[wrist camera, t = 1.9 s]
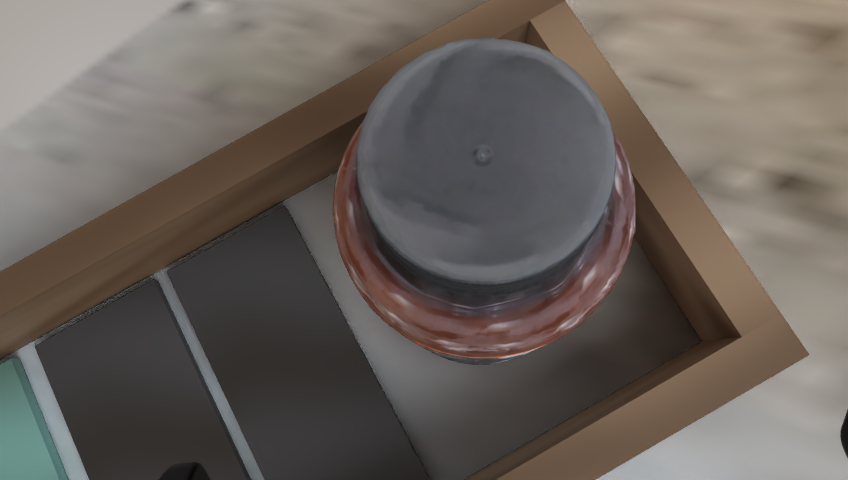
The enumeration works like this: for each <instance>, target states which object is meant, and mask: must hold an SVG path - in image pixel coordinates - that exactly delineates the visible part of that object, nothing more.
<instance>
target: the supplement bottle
mask: <svg viewBox="0 0 848 480" xmlns="http://www.w3.org/2000/svg"><path fill="white" fill-rule="evenodd" d="M333 216H334V226H335V235H336V239H337V243H338V247H339V250H340V254H341V256H342V259H343V261H344V264H345V266H346V268H347V271H348V273H349V275H350V277H351V279H352V280H353V282H354V284H355V286H356V287H357V289H358V290H359V292H360V294H361V295H362V297H363V298H364V299H365V301H366V302H367V303H368V305H369V306H370V307H371V308H372V309H373V310H374V311H375V312H376V313H377V314H378V315H379V316H380V317H381V319H383V320H384V321H385V322H386V323H387V324H389V325H390V326H391V327H392V328H394V329H395V330H397V331H398V332H400V333H401V334H402V335H403V336H405V337H406V338H408V339H410V340H412V341H414V342H415V343H416V344H419V345H420V346H422V347H424V348H425V349H427V350H429V351H431V352H432V353H434V354H437V355H439V356H441V357H444V358H446V359H448V360H452V361H457V362H460V363H466V364H473V365H479V364H481V365H487V364H494V363H500V362H504V361H508V360H511V359H514V358H516V357H519V356H521V355H524V354H526V353H529V352H531V351H533V350H536V349H538V348H540V347H542V346H544V345H546V344H548V343H550V342H552V341H554V340H556V339H558V338H560V337H562V336H563V335H565V334H567V333H568V332H570V331H572V330H573V329H575V328H576V327H577V326H578V325H579V324H580V323H582V322H583V321H584V320H585V319H586V318H587V317H588V316H589V315H590V314H591V313H592V312H593V311H594V310H595V309H596V308H597V307H598V306H599V304H600V303H601V302H602V301H603V300H604V298H605V297H606V296H607V295H608V294H609V292H610V291H611V289H612V287H613V285H614V284H615V283H616V281H617V279H618V277H619V276H620V274H621V272H622V269H623V266H624V264H625V262H626V260H627V257H628V254H629V252H630V249H631V244H632V242H633V237H634V234H635V232H636V197H635V187H634V182H633V176H632V173H631V169H630V164H629V162H628V159H627V157H626V154H625V151H624V149H623V147H622V144H621V142H620V141H619V139H618V138H617V136H616V134H615V133H614V132H613V130H612V126H611V124H610V121H609V119H608V116H607V113H606V111H605V108H604V107H603V105H602V104H601V102H600V101H599V99H598V98H597V96H596V94H595V92H594V91H593V90H592V89H591V88H590V86H589V85H588V84H587V82H586V80H585V79H584V78H583V77H582V76H581V75H580V74H578V72H577V71H576V70H574V69H573V68H572V67H570V66H569V65H568V64H567V63H566V62H564V61H562V60H561V59H559V58H558V57H556V56H554V55H553V54H551V53H550V52H549V51H547V50H543V49H541V48H539V47H536V46H532V45H530V44H527V43H522V42H517V41H512V40H507V39H497V38H495V37H485V38H478V39H464V40H459V41H454V42H449V43H447V44H445V45H443V46H441V47H437V48H434V49H432V50H429V51H427V52H425V53H423V54H421V55H419V56H418V57H417V58H415V59H414V60H412V61H411V62H409V63H408V64H406V65H404V66H403V67H402V68H400V69H399V70H398V71H397V72H396V73H395V75H394V76H393V77H392V78H391V79H390V80H389V81H388V82H387V83H386V84H385V85H384V86H383V87H382V88H381V89H380V91H379V92H378V94H377V96H376V97H375V99H374V100H373V101H372V103H371V105H370V107H369V108H368V111H367V114H366V116H365V118H364V120H363V122H362V124H361V125H360V126H359V128H358V129H357V131H356V132H355V134H354V135H353V137H352V139H351V141H350V143H349V145H348V147H347V149H346V151H345V153H344V155H343V158H342V161H341V163H340V167H339V170H338V175H337V180H336V185H335V191H334V203H333Z"/></svg>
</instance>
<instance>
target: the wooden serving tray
mask: <svg viewBox="0 0 848 480" xmlns="http://www.w3.org/2000/svg"><path fill="white" fill-rule="evenodd" d="M485 37H495V38H497V39H507V40H512V41H517V42H522V43H527V44H530V45H532V46H536V47H539V48H541V49H543V50H547V51H549V52H550V53H551V54H553V55H554V56H556V57H558V58H559V59H561V60H562V61H564V62H566V63H567V64H568V65H569V66H570V67H572V68H573V69H574V70H576V71H577V72H578V74H580V75H581V76H582V77H583V78H584V79H585V80H586V82H587V84H588V85H589V86H590V88H591V89H592V90H593V91H594V92H595V94H596V96H597V98H598V99H599V101H600V102H601V104H602V105H603V107H604V108H605V111H606V113H607V116H608V119H609V121H610V124H611V126H612V130H613V132H614V133H615V134H616V136H617V138H618V139H619V141H620V142H621V144H622V147H623V149H624V151H625V154H626V157H627V159H628V162H629V164H630V169H631V173H632V176H633V182H634V187H635V197H636V232H635V234H634V238H635V239H636V241H637V242H638V244H639V246H640V247H641V249H642V250H643V252H644V253H645V255H646V256H647V258H648V259H649V261H650V262H651V264H652V265H653V267H654V268H655V270H656V272H657V273H658V275H659V276H660V278H661V279H662V281H663V282H664V284H665V285H666V287H667V288H668V290H669V291H670V293H671V294H672V296H673V297H674V299H675V301H676V302H677V304H678V305H679V307H680V308H681V310H682V311H683V313H684V314H685V316H686V317H687V319H688V320H689V322H690V323H691V325H692V327H693V328H694V330H695V331H696V333H697V334H698V336H699V337H700V339H701V340H702V342H700V343H699V344H697V345H695V346H693V347H692V348H690V349H688V350H687V351H685V352H683V353H681V354H680V355H678V356H676V357H674V358H673V359H671V360H669V361H668V362H666V363H664V364H662V365H661V366H659V367H657V368H656V369H654V370H652V371H650V372H649V373H647V374H645V375H643V376H642V377H640V378H638V379H637V380H635V381H633V382H631V383H630V384H628V385H626V386H624V387H623V388H621V389H619V390H618V391H616V392H614V393H612V394H611V395H609V396H607V397H605V398H604V399H602V400H600V401H599V402H597V403H595V404H593V405H592V406H590V407H588V408H586V409H585V410H583V411H581V412H580V413H578V414H576V415H574V416H573V417H571V418H569V419H567V420H566V421H564V422H562V423H561V424H559V425H557V426H555V427H554V428H552V429H550V430H549V431H547V432H545V433H543V434H542V435H540V436H538V437H536V438H535V439H533V440H531V441H530V442H528V443H526V444H524V445H523V446H521V447H519V448H517V449H516V450H514V451H512V452H511V453H509V454H507V455H505V456H504V457H502V458H500V459H498V460H497V461H495V462H493V463H492V464H490V465H488V466H486V467H485V468H483V469H481V470H479V471H478V472H476V473H474V474H473V475H471V476H469V477H467V478H466V479H464V480H596V479H597V478H599V477H601V476H602V475H604V474H606V473H608V472H609V471H611V470H613V469H614V468H616V467H618V466H620V465H621V464H623V463H625V462H626V461H628V460H630V459H632V458H633V457H635V456H637V455H638V454H640V453H642V452H644V451H645V450H647V449H649V448H650V447H652V446H654V445H656V444H657V443H659V442H661V441H662V440H664V439H666V438H668V437H669V436H671V435H673V434H674V433H676V432H678V431H680V430H681V429H683V428H685V427H686V426H688V425H690V424H692V423H693V422H695V421H697V420H698V419H700V418H702V417H704V416H705V415H707V414H709V413H710V412H712V411H714V410H716V409H717V408H719V407H721V406H722V405H724V404H726V403H728V402H729V401H731V400H733V399H734V398H736V397H738V396H740V395H741V394H743V393H745V392H746V391H748V390H750V389H752V388H753V387H755V386H757V385H758V384H760V383H762V382H764V381H765V380H767V379H769V378H770V377H772V376H774V375H776V374H777V373H779V372H781V371H782V370H784V369H786V368H788V367H789V366H791V365H793V364H794V363H796V362H798V361H800V360H801V359H803V358H805V357H806V356H808V355H809V353H808V352H807V351H806V349H805V348H804V346H803V345H802V343H801V342H800V340H799V339H798V338H797V336H796V335H795V333H794V332H793V330H792V329H791V327H790V326H789V324H788V323H787V322H786V320H785V319H784V317H783V316H782V314H781V313H780V311H779V310H778V309H777V307H776V306H775V304H774V303H773V301H772V300H771V298H770V297H769V295H768V294H767V293H766V291H765V290H764V288H763V287H762V285H761V284H760V282H759V281H758V280H757V278H756V277H755V275H754V274H753V272H752V271H751V269H750V268H749V266H748V265H747V264H746V262H745V261H744V259H743V258H742V256H741V255H740V253H739V252H738V251H737V249H736V248H735V246H734V245H733V243H732V242H731V240H730V239H729V237H728V236H727V235H726V233H725V232H724V230H723V229H722V227H721V226H720V224H719V223H718V222H717V220H716V219H715V217H714V216H713V214H712V213H711V211H710V210H709V209H708V207H707V206H706V204H705V203H704V201H703V200H702V198H701V197H700V195H699V194H698V193H697V191H696V190H695V188H694V187H693V185H692V184H691V182H690V181H689V180H688V178H687V177H686V175H685V174H684V172H683V171H682V169H681V168H680V166H679V165H678V164H677V162H676V161H675V159H674V158H673V156H672V155H671V153H670V152H669V151H668V149H667V148H666V146H665V145H664V143H663V142H662V140H661V139H660V137H659V136H658V135H657V133H656V132H655V130H654V129H653V127H652V126H651V124H650V123H649V122H648V120H647V119H646V117H645V116H644V114H643V113H642V111H641V110H640V108H639V107H638V106H637V104H636V103H635V101H634V100H633V98H632V97H631V95H630V94H629V93H628V91H627V90H626V88H625V87H624V85H623V84H622V82H621V81H620V80H619V78H618V77H617V75H616V74H615V72H614V71H613V69H612V68H611V66H610V65H609V64H608V62H607V61H606V59H605V58H604V56H603V55H602V53H601V52H600V51H599V49H598V48H597V46H596V45H595V43H594V42H593V40H592V39H591V37H590V36H589V35H588V33H587V32H586V30H585V29H584V27H583V26H582V24H581V23H580V22H579V20H578V19H577V17H576V16H575V14H574V13H573V11H572V10H571V8H570V7H569V6H568V4H567V3H566V1H565V0H488V1H486V2H485V3H483V4H481V5H479V6H477V7H476V8H474V9H472V10H470V11H468V12H467V13H465V14H463V15H461V16H459V17H458V18H456V19H454V20H452V21H450V22H449V23H447V24H445V25H443V26H441V27H440V28H438V29H436V30H434V31H432V32H431V33H429V34H427V35H425V36H423V37H422V38H420V39H418V40H416V41H414V42H413V43H411V44H409V45H407V46H405V47H404V48H402V49H400V50H398V51H396V52H395V53H393V54H391V55H389V56H387V57H386V58H384V59H382V60H380V61H378V62H377V63H375V64H373V65H371V66H369V67H368V68H366V69H364V70H362V71H360V72H359V73H357V74H355V75H353V76H351V77H350V78H348V79H346V80H344V81H343V82H341V83H339V84H337V85H335V86H334V87H332V88H330V89H328V90H326V91H325V92H323V93H321V94H319V95H317V96H316V97H314V98H312V99H310V100H308V101H307V102H305V103H303V104H301V105H299V106H298V107H296V108H294V109H292V110H290V111H289V112H287V113H285V114H283V115H281V116H280V117H278V118H276V119H274V120H272V121H271V122H269V123H267V124H265V125H263V126H262V127H260V128H258V129H256V130H254V131H253V132H251V133H249V134H247V135H245V136H244V137H242V138H240V139H238V140H236V141H235V142H233V143H231V144H229V145H227V146H226V147H224V148H222V149H220V150H218V151H217V152H215V153H213V154H211V155H209V156H208V157H206V158H204V159H202V160H200V161H199V162H197V163H195V164H193V165H191V166H190V167H188V168H186V169H184V170H182V171H181V172H179V173H177V174H175V175H173V176H172V177H170V178H168V179H166V180H164V181H163V182H161V183H159V184H157V185H155V186H154V187H152V188H150V189H148V190H146V191H145V192H143V193H141V194H139V195H137V196H136V197H134V198H132V199H130V200H128V201H127V202H125V203H123V204H121V205H119V206H118V207H116V208H114V209H112V210H110V211H109V212H107V213H105V214H103V215H101V216H100V217H98V218H96V219H94V220H92V221H91V222H89V223H87V224H85V225H83V226H82V227H80V228H78V229H76V230H74V231H73V232H71V233H69V234H67V235H66V236H64V237H62V238H60V239H58V240H57V241H55V242H53V243H51V244H49V245H48V246H46V247H44V248H42V249H40V250H39V251H37V252H35V253H33V254H31V255H30V256H28V257H26V258H24V259H22V260H21V261H19V262H17V263H15V264H13V265H12V266H10V267H8V268H6V269H4V270H3V271H1V272H0V359H2V358H4V357H5V356H7V355H9V354H11V353H13V352H14V351H16V350H18V349H20V348H22V347H23V346H25V345H27V344H29V343H30V342H32V341H34V340H36V339H38V338H39V337H41V336H43V335H45V334H47V333H48V332H50V331H52V330H54V329H55V328H57V327H59V326H61V325H63V324H64V323H66V322H68V321H70V320H72V319H73V318H75V317H77V316H79V315H80V314H82V313H84V312H86V311H88V310H89V309H91V308H93V307H95V306H96V305H98V304H100V303H102V302H104V301H105V300H107V299H109V298H111V297H113V296H114V295H116V294H118V293H120V292H121V291H123V290H125V289H127V288H129V287H130V286H132V285H134V284H136V283H138V282H139V281H141V280H143V279H145V278H146V277H148V276H150V275H152V274H154V273H155V272H157V271H159V270H161V269H163V268H164V267H166V266H168V265H170V264H171V263H173V262H175V261H177V260H179V259H180V258H182V257H184V256H186V255H188V254H189V253H191V252H193V251H195V250H196V249H198V248H200V247H202V246H204V245H205V244H207V243H209V242H211V241H213V240H214V239H216V238H218V237H220V236H221V235H223V234H225V233H227V232H229V231H230V230H232V229H234V228H236V227H237V226H239V225H241V224H243V223H245V222H246V221H248V220H250V219H252V218H254V217H255V216H257V215H259V214H261V213H262V212H264V211H266V210H268V209H270V208H271V207H273V206H275V205H277V204H279V203H280V202H282V201H284V200H286V199H287V198H289V197H291V196H293V195H295V194H296V193H298V192H300V191H302V190H304V189H305V188H307V187H309V186H311V185H312V184H314V183H316V182H318V181H320V180H321V179H323V178H325V177H327V176H329V175H330V174H332V173H334V172H336V171H337V170H339V167H340V163H341V161H342V158H343V155H344V153H345V151H346V149H347V147H348V145H349V143H350V141H351V139H352V137H353V135H354V134H355V132H356V131H357V129H358V128H359V126H360V125H361V124H362V122H363V120H364V118H365V116H366V114H367V111H368V108H369V107H370V105H371V103H372V101H373V100H374V99H375V97H376V96H377V94H378V92H379V91H380V89H381V88H382V87H383V86H384V85H385V84H386V83H387V82H388V81H389V80H390V79H391V78H392V77H393V76H394V75H395V73H396V72H397V71H398V70H399V69H400V68H402V67H403V66H404V65H406V64H408V63H409V62H411V61H412V60H414V59H415V58H417V57H418V56H419V55H421V54H423V53H425V52H427V51H429V50H432V49H434V48H437V47H441V46H443V45H445V44H447V43H449V42H454V41H459V40H464V39H478V38H485ZM167 273H168V275H169V277H170V279H171V282H172V284H173V286H174V288H175V290H176V292H177V294H178V296H179V299H180V301H181V303H182V305H183V307H184V309H185V311H186V313H187V315H188V318H189V320H190V322H191V324H192V326H193V328H194V330H195V332H196V335H197V337H198V339H199V341H200V343H201V345H202V347H203V349H204V352H205V354H206V356H207V358H208V360H209V362H210V364H211V366H212V369H213V371H214V373H215V375H216V377H217V379H218V381H219V383H220V386H221V388H222V390H223V392H224V394H225V396H226V398H227V400H228V402H229V405H230V407H231V409H232V411H233V413H234V415H235V417H236V419H237V422H238V424H239V426H240V428H241V430H242V432H243V434H244V436H245V439H246V441H247V443H248V445H249V447H250V449H251V451H252V453H253V456H254V458H255V460H256V462H257V464H258V466H259V468H260V470H261V473H262V475H263V477H264V479H265V480H430V478H429V476H428V474H427V473H426V471H425V469H424V467H423V465H422V463H421V461H420V459H419V457H418V455H417V454H416V452H415V450H414V448H413V446H412V444H411V442H410V440H409V438H408V437H407V435H406V433H405V431H404V429H403V427H402V425H401V423H400V421H399V420H398V418H397V416H396V414H395V412H394V410H393V408H392V406H391V404H390V403H389V401H388V399H387V397H386V395H385V393H384V391H383V389H382V387H381V385H380V384H379V382H378V380H377V378H376V376H375V374H374V372H373V370H372V368H371V367H370V365H369V363H368V361H367V359H366V357H365V355H364V353H363V351H362V350H361V348H360V346H359V344H358V342H357V340H356V338H355V336H354V334H353V333H352V331H351V329H350V327H349V325H348V323H347V321H346V319H345V317H344V315H343V314H342V312H341V310H340V308H339V306H338V304H337V302H336V300H335V298H334V297H333V295H332V293H331V291H330V289H329V287H328V285H327V283H326V281H325V280H324V278H323V276H322V274H321V272H320V270H319V268H318V266H317V264H316V263H315V261H314V259H313V257H312V255H311V253H310V251H309V249H308V247H307V245H306V244H305V242H304V240H303V238H302V236H301V234H300V232H299V230H298V228H297V227H296V225H295V223H294V221H293V219H292V217H291V215H290V213H289V211H288V210H287V208H286V207H285V206H284V207H282V208H280V209H279V210H277V211H275V212H273V213H272V214H270V215H268V216H266V217H264V218H263V219H261V220H259V221H257V222H255V223H254V224H252V225H250V226H248V227H247V228H245V229H243V230H241V231H239V232H238V233H236V234H234V235H232V236H230V237H229V238H227V239H225V240H223V241H222V242H220V243H218V244H216V245H214V246H213V247H211V248H209V249H207V250H206V251H204V252H202V253H200V254H198V255H197V256H195V257H193V258H191V259H189V260H188V261H186V262H184V263H182V264H181V265H179V266H177V267H175V268H173V269H172V270H170V271H168V272H167ZM35 348H36V350H37V353H38V355H39V358H40V360H41V363H42V365H43V367H44V370H45V372H46V375H47V377H48V380H49V382H50V385H51V387H52V389H53V392H54V394H55V397H56V399H57V402H58V404H59V406H60V409H61V411H62V414H63V416H64V419H65V421H66V424H67V426H68V428H69V431H70V433H71V436H72V438H73V441H74V443H75V445H76V448H77V450H78V453H79V455H80V458H81V460H82V463H83V465H84V467H85V470H86V472H87V475H88V477H89V480H158V479H159V477H160V476H161V475H162V474H163V473H164V472H165V470H166V469H167V468H169V467H170V466H172V465H174V464H179V463H189V462H199V463H201V464H202V465H203V466H204V468H205V469H206V471H207V473H208V475H209V477H210V479H211V480H251V479H250V477H249V475H248V473H247V471H246V468H245V466H244V464H243V462H242V460H241V458H240V456H239V453H238V451H237V449H236V447H235V445H234V443H233V440H232V438H231V436H230V434H229V432H228V430H227V428H226V425H225V423H224V421H223V419H222V417H221V415H220V413H219V410H218V408H217V406H216V404H215V402H214V400H213V398H212V395H211V393H210V391H209V389H208V387H207V385H206V383H205V380H204V378H203V376H202V374H201V372H200V370H199V368H198V365H197V363H196V361H195V359H194V357H193V355H192V353H191V350H190V348H189V346H188V344H187V342H186V340H185V338H184V335H183V333H182V331H181V329H180V327H179V325H178V323H177V320H176V318H175V316H174V314H173V312H172V310H171V308H170V305H169V303H168V301H167V299H166V297H165V295H164V293H163V290H162V288H161V286H160V284H159V282H158V281H157V280H152V281H150V282H148V283H147V284H145V285H143V286H141V287H140V288H138V289H136V290H134V291H132V292H131V293H129V294H127V295H125V296H123V297H122V298H120V299H118V300H116V301H115V302H113V303H111V304H109V305H107V306H106V307H104V308H102V309H100V310H98V311H97V312H95V313H93V314H91V315H90V316H88V317H86V318H84V319H82V320H81V321H79V322H77V323H75V324H74V325H72V326H70V327H68V328H66V329H65V330H63V331H61V332H59V333H57V334H56V335H54V336H52V337H50V338H49V339H47V340H45V341H43V342H41V343H40V344H38V345H36V346H35ZM0 480H68V478H67V475H66V473H65V470H64V468H63V466H62V463H61V461H60V458H59V456H58V453H57V451H56V448H55V446H54V443H53V441H52V438H51V436H50V433H49V431H48V428H47V426H46V423H45V421H44V418H43V416H42V413H41V411H40V408H39V406H38V403H37V401H36V399H35V396H34V394H33V391H32V389H31V386H30V384H29V381H28V379H27V376H26V374H25V371H24V369H23V366H22V364H21V361H20V359H17V358H11V359H9V360H7V361H5V362H3V363H2V364H0Z"/></svg>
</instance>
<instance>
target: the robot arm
mask: <svg viewBox="0 0 848 480" xmlns="http://www.w3.org/2000/svg"><path fill="white" fill-rule="evenodd" d="M841 442H842V446H843V449H844V451H845V453H846V456H847V458H848V410H847V413H846V416H845V419H844V422H843V425H842V427H841ZM158 480H211V479H210V477H209V475H208V473H207V471H206V469H205V468H204V466H203V465H202V464H201V463H199V462H189V463H179V464H174V465H172V466H170V467H169V468H167V469H166V470H165V472H164V473H163V474H162V475H161V476H160V477H159V479H158Z"/></svg>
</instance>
